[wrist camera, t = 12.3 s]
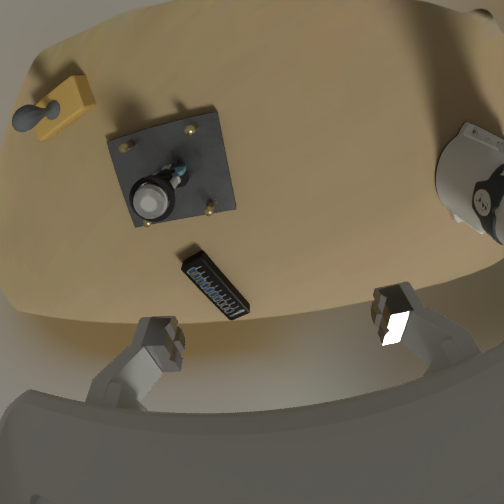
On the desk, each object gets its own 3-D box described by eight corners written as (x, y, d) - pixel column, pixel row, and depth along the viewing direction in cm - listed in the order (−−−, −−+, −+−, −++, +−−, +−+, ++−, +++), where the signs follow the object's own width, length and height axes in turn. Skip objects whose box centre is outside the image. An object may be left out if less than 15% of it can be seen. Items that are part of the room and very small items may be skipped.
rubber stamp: (52, 136, 31) (3, 160, 21) (41, 107, 28) (-10, 124, 18) (97, 105, 30) (46, 119, 20) (85, 73, 27) (32, 77, 17)
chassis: (217, 111, 32) (214, 113, 29) (236, 206, 40) (235, 217, 37) (109, 140, 33) (98, 146, 30) (137, 224, 41) (129, 235, 38)
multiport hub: (203, 248, 44) (201, 256, 42) (250, 303, 51) (250, 312, 49) (182, 260, 45) (179, 268, 43) (231, 312, 52) (230, 321, 50)
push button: (150, 196, 37) (124, 231, 29) (140, 162, 34) (109, 188, 26) (193, 188, 37) (177, 222, 28) (185, 152, 34) (165, 175, 26)
